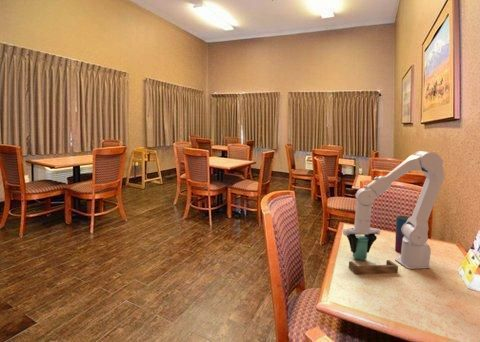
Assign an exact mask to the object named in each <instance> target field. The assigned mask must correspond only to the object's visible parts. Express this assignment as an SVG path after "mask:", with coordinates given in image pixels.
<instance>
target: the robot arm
mask: <svg viewBox="0 0 480 342" xmlns="http://www.w3.org/2000/svg"><path fill="white" fill-rule="evenodd" d="M443 163H444V160H443V158H442V157H441V156H440V155H439V154H438V153H437V152H433V151H425V150H418V151H416V152H414V153H413V154H411V155H409V156H407V158H406V159H404V160H403V161H402V162H401V163H400V164H398V165H397V166H396V167H394V168H393V169H392V170H391V171H389V172H388V173H386V175H379V176H375V177H374V178H373V179H374V180H372V181H370V183H368V184H364V186H363V188H359V189H358V190H357V191H356V193H355V194H354V196H355V199H356V205H355V214H354V215H355V216H354V225H353V226H354V227H352V228H351V227H350V228H344V229H343V230H342V234H343V235H344V236H346V237H347V240H348V243H349V246H350V252H351V253H352V254H353V253H355V251H356V243H357V240H358V238H357V237H356V236H355V235H361V236H365V237H368V238H369V241H368V247H367V254H368V253H369V252H370V250H371V247H372V246H373V245H374V243H375V241H376V240H377V239H378V238H377V236H379V235H381V230H380V229H379V228H371V222H372V221H371V219H372V210H373V209H372V206H373V204H374V203H375V201H376V198H378V197H380V196H382V195H383V194H384V193H385V192H386V191H388V190H389V189H391V187H392V183H393V182H395V181H396V180H398V179H399V178H401V177H403V176H404V175H406V174H407V173H409V172H411V171H421V172H422V173H423V174H424V177H425V179H424V182H423V185H422V188H421V191H420V193H419V196H418V198H417V201H416V203H415V207H414V209H413V212H412V215H411V216H409V218H408V219H407V222H406V223H405V224H404V225H403V226H402V228H401V231H402V234H403V235H404V237H403V240H402V249H401V253H400V258H398V257H397V258H395V259H394V260H395V261H396V262H398V263H400V264H401V265H402V266H404V267H405V268H407V269H408V270H409V269H410V270H412V269H413V270H414V269H415V270H416V269H417V270H418V269H430V268H431V266H430V261H431V254H432V252H431V247H430V244H428V243H427V242H428V240H429V239H428V238H429V235H428V233H429V229H430V228H429V224H428V220H429V218H430V216H431V214H432V213H431V212H432V211H433V208H434V205H435V203H436V200H437V197H438V195H439V192H440V189H441V188H442V185H443V183H444V179H445V173H444V166H443Z"/></svg>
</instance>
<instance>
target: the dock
mask: <svg viewBox="0 0 480 342" xmlns="http://www.w3.org/2000/svg"><path fill="white" fill-rule="evenodd" d="M385 263H386V264H379V265H378V264H375V265H357V264H356V263H355V262H354V261H353V260H352V261H348V269H349V270H350V271H351V272H352V273H354V275H369V274H370V275H371V274H372V275H373V274H391V273H392V274H395V273H397V274H398V272H399V265H398V264H396V263H394V262H393V261H392V260H390V259H389V260H388V259H387V260H386V262H385Z"/></svg>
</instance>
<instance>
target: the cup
mask: <svg viewBox="0 0 480 342" xmlns="http://www.w3.org/2000/svg"><path fill="white" fill-rule="evenodd" d="M409 217H410V216H408V215H404V214H403V215H400V214H399V215H396V220H395V221H396V222H395V224H396V225H395V241H394V243H395V247H394V250H395V252H396V253H399V254H401V249H402V240H403V237H404V235H403V234H402V231H401V228H402V226H403V225H404V224H405V223H406V222H407V219H408V218H409Z"/></svg>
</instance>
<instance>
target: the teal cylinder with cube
mask: <svg viewBox="0 0 480 342" xmlns="http://www.w3.org/2000/svg"><path fill="white" fill-rule="evenodd" d="M355 236H356V237H357V238H358V240H357V243H356V251H355V253H353V252H352V257H353V258H354V259H356V260H363V261H365V260H367V258H368V256H367V255H368V253H367V247H368V241H369V238H368V237H365V236H364V235H355Z"/></svg>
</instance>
